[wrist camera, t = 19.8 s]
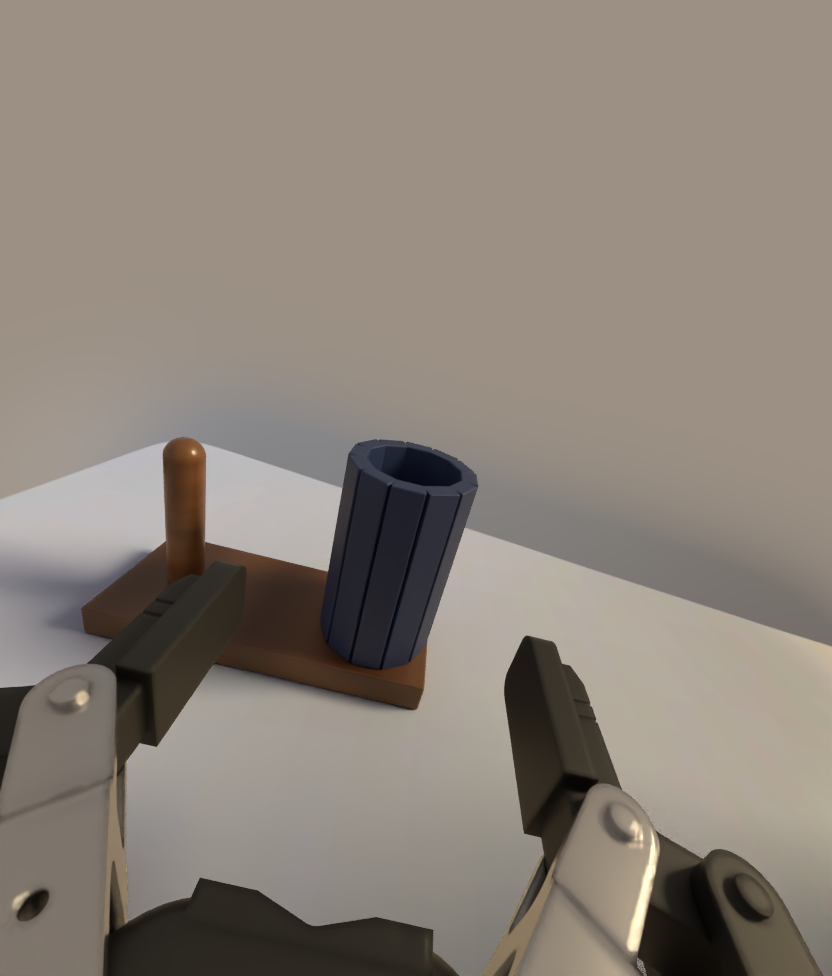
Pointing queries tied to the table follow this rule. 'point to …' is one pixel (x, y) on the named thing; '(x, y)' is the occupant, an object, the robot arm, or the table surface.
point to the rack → (246, 598)
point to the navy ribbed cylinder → (393, 549)
